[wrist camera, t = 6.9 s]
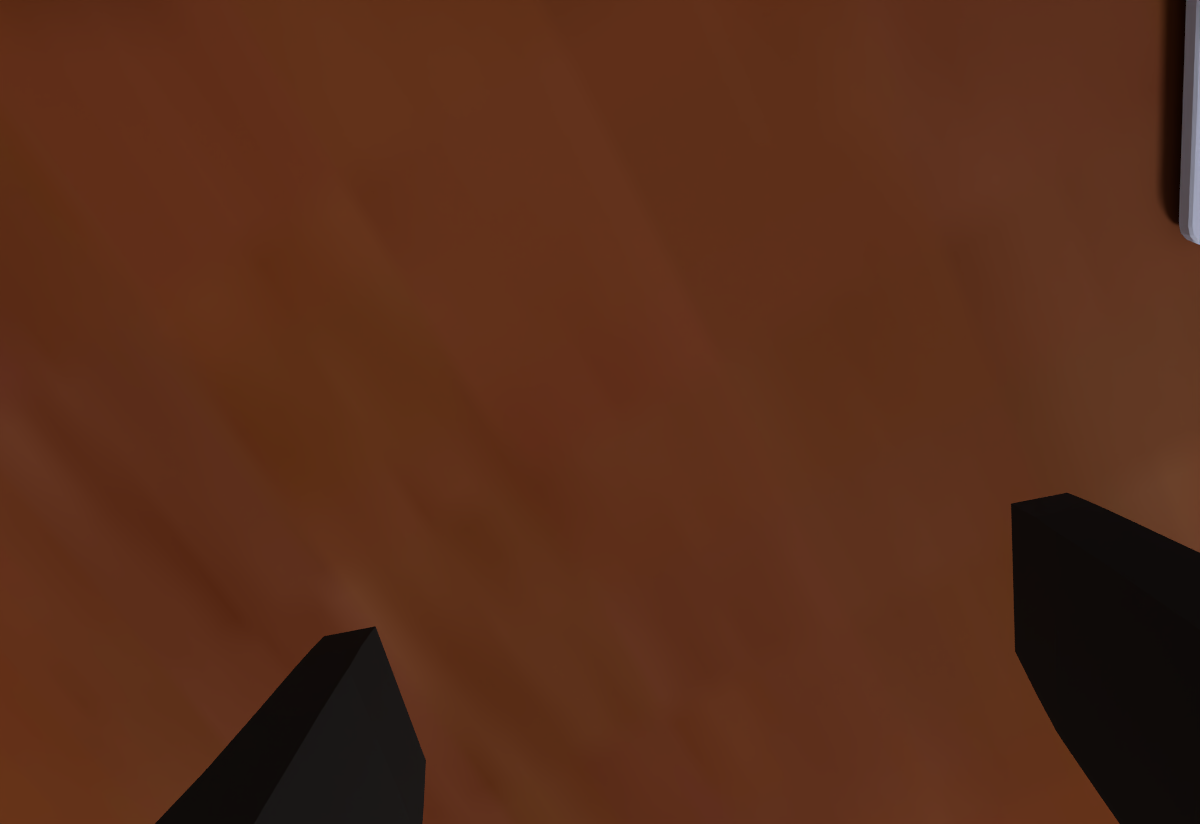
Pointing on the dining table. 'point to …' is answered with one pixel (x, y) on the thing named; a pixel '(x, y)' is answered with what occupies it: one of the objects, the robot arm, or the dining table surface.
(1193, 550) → the robot arm
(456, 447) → the dining table surface
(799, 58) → the dining table surface
